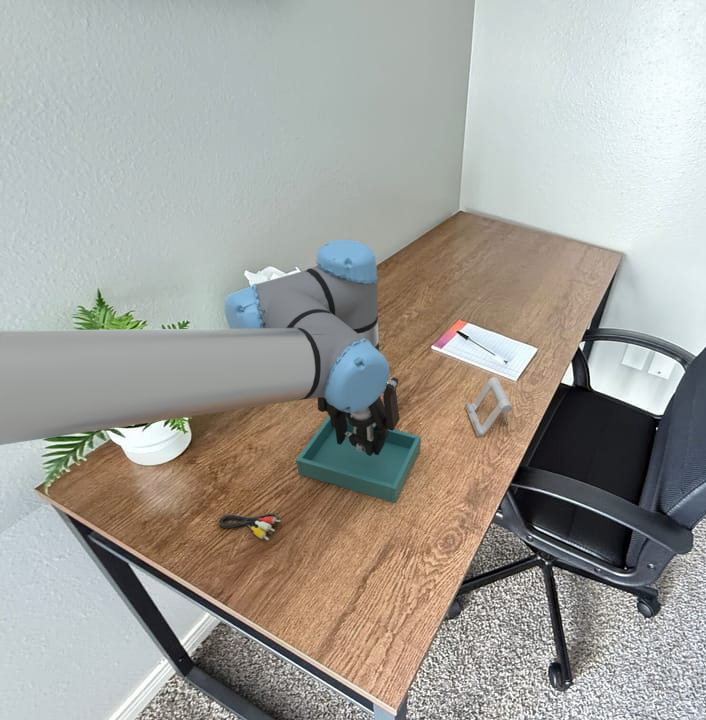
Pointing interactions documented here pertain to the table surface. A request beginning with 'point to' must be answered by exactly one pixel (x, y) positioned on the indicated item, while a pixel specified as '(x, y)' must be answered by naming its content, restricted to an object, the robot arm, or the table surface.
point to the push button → (361, 430)
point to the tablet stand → (501, 407)
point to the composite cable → (252, 523)
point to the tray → (360, 462)
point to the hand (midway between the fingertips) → (360, 443)
